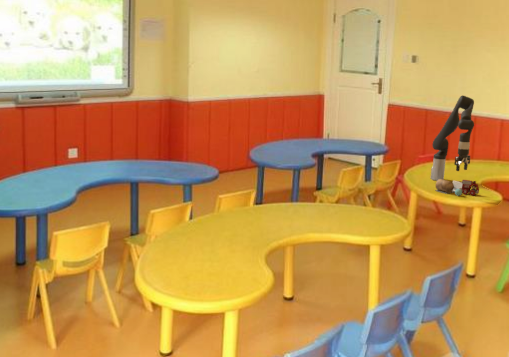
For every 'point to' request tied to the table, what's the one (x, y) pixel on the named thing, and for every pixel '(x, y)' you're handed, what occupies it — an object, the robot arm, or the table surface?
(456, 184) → the frame
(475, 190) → the toy fire truck
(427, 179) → the table surface
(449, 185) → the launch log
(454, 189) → the grey rectangular panel
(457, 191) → the rubber ball
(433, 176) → the robot arm
